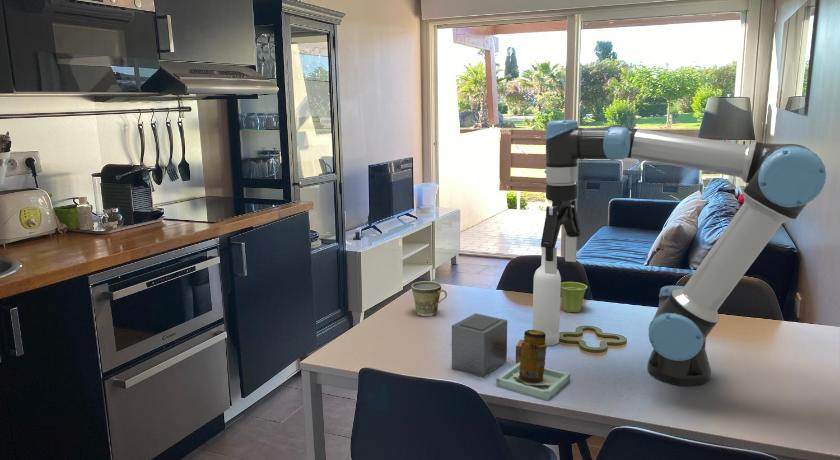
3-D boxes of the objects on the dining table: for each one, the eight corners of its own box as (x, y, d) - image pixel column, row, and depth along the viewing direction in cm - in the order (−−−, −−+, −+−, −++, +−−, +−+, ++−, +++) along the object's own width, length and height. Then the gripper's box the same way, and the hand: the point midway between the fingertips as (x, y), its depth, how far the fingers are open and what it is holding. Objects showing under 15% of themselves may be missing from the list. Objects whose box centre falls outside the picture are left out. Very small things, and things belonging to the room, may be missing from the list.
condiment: (538, 374, 162) (542, 328, 161) (552, 385, 154) (557, 337, 153) (511, 374, 160) (515, 328, 159) (525, 385, 152) (529, 337, 151)
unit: (506, 361, 171) (507, 319, 169) (484, 377, 162) (484, 332, 159) (474, 353, 177) (474, 312, 175) (450, 367, 168) (450, 324, 165)
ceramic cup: (406, 315, 210) (405, 286, 208) (422, 307, 218) (422, 279, 216) (438, 322, 203) (438, 292, 201) (454, 313, 211) (454, 285, 209)
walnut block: (537, 358, 173) (537, 341, 172) (533, 365, 169) (534, 348, 168) (519, 356, 175) (519, 339, 174) (515, 363, 171) (515, 345, 170)
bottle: (536, 334, 191) (538, 238, 185) (561, 338, 187) (565, 240, 181) (528, 343, 184) (530, 244, 178) (555, 347, 180) (558, 246, 174)
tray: (569, 381, 159) (570, 374, 158) (547, 400, 149) (547, 393, 148) (520, 368, 167) (520, 361, 167) (496, 385, 157) (496, 378, 156)
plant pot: (568, 303, 219) (568, 280, 218) (591, 310, 213) (592, 285, 211) (552, 310, 213) (552, 285, 211) (575, 316, 206) (576, 291, 205)
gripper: (565, 177, 166) (564, 255, 170) (526, 189, 146) (527, 277, 150) (592, 178, 162) (592, 258, 166) (556, 190, 142) (556, 280, 146)
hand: (561, 267), depth 158 cm, fingers open, 13 cm apart
